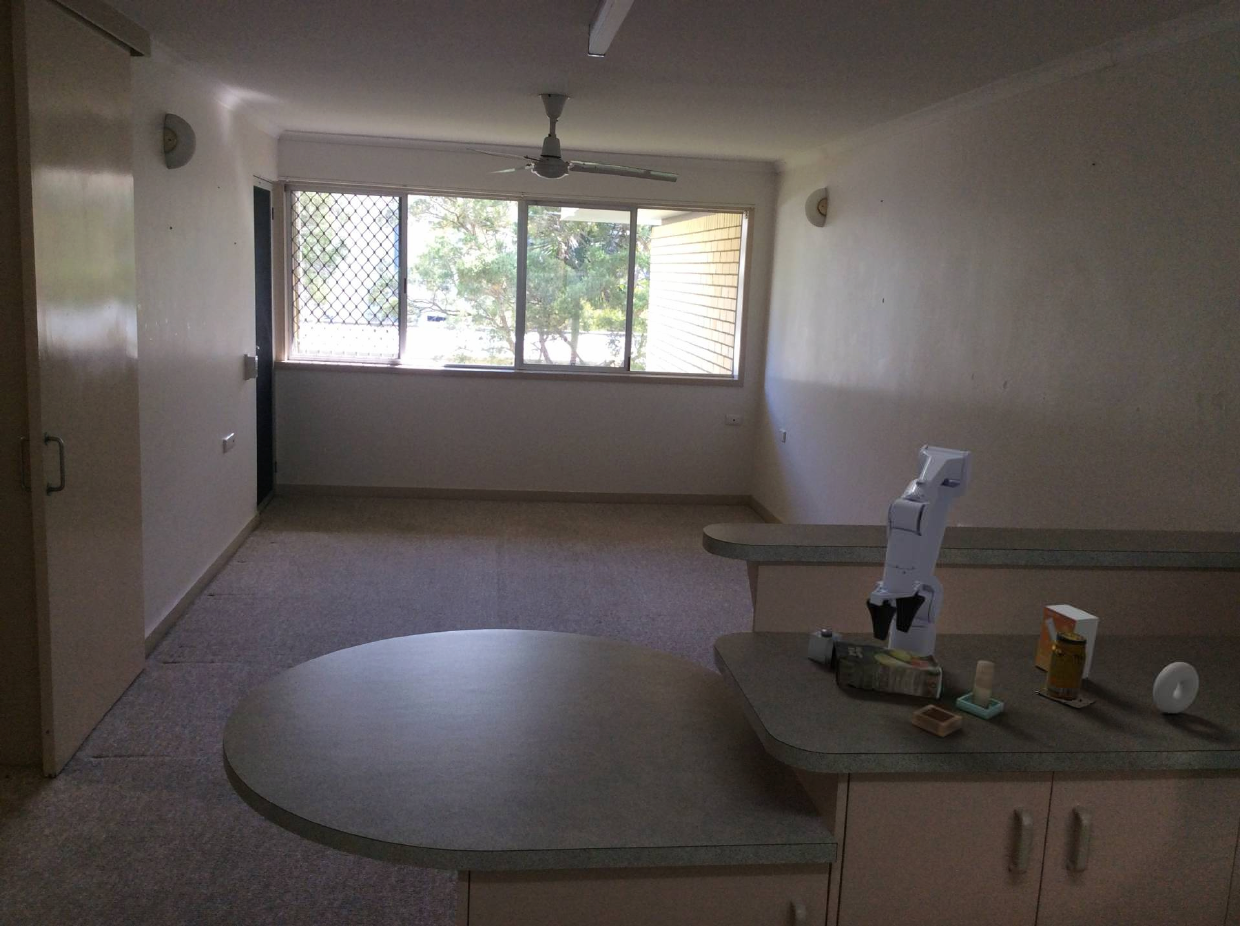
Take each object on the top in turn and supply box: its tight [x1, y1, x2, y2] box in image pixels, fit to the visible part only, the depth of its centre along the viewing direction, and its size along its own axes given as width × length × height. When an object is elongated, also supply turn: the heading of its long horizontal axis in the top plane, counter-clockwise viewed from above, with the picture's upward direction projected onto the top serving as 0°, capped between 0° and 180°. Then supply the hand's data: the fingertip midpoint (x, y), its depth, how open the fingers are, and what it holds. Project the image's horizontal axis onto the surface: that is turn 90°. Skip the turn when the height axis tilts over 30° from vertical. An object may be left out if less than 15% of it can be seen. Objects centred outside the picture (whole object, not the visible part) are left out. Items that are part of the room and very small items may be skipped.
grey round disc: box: [1152, 661, 1200, 714], centre depth 185 cm, size 10×4×10 cm, turn 115°
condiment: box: [1035, 632, 1087, 701], centre depth 187 cm, size 7×8×12 cm
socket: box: [910, 704, 963, 738], centre depth 171 cm, size 6×6×2 cm
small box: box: [1034, 604, 1100, 678], centre depth 200 cm, size 8×6×13 cm
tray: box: [955, 691, 1005, 720], centre depth 180 cm, size 6×6×2 cm
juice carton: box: [830, 641, 946, 699], centre depth 188 cm, size 20×10×6 cm, turn 83°
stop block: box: [806, 627, 843, 665], centre depth 197 cm, size 5×4×6 cm
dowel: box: [971, 660, 996, 709], centre depth 179 cm, size 3×3×8 cm
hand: (891, 635), depth 185 cm, fingers open, 7 cm apart
